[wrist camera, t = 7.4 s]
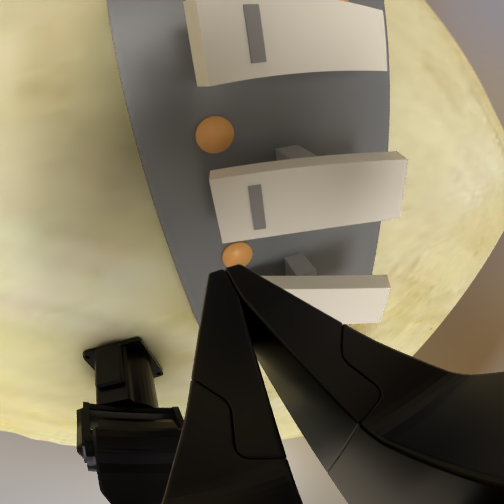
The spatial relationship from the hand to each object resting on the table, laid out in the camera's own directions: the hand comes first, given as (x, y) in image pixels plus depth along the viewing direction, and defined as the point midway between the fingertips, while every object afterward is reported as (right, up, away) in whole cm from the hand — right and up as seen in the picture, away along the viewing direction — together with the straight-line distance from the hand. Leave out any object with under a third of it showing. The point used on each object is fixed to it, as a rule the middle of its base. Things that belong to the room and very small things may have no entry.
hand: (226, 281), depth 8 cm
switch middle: (+4, +4, +7) cm, 9 cm away
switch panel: (+2, +7, +12) cm, 14 cm away
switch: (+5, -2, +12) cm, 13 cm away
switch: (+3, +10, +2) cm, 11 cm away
